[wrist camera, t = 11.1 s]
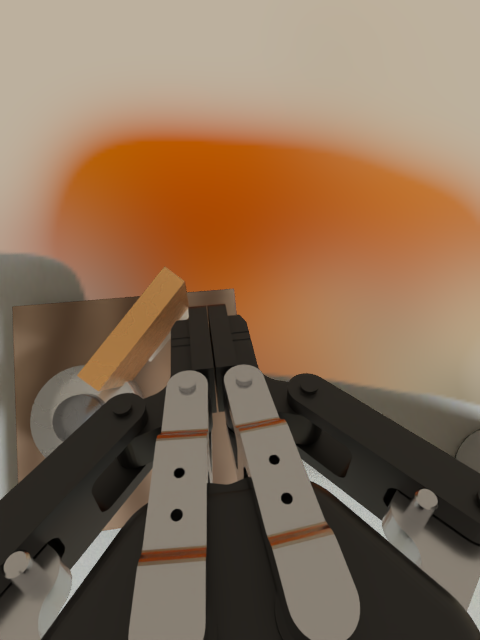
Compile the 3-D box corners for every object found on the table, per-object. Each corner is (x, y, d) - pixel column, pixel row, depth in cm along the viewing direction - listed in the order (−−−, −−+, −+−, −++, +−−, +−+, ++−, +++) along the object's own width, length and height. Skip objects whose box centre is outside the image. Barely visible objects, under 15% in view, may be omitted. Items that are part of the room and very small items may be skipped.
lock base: (232, 292, 37) (234, 288, 35) (253, 499, 35) (257, 508, 33) (23, 310, 35) (10, 306, 33) (30, 532, 33) (18, 545, 30)
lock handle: (106, 477, 32) (58, 534, 21) (31, 422, 32) (-58, 451, 21) (217, 329, 34) (225, 311, 24) (147, 278, 34) (124, 236, 23)
